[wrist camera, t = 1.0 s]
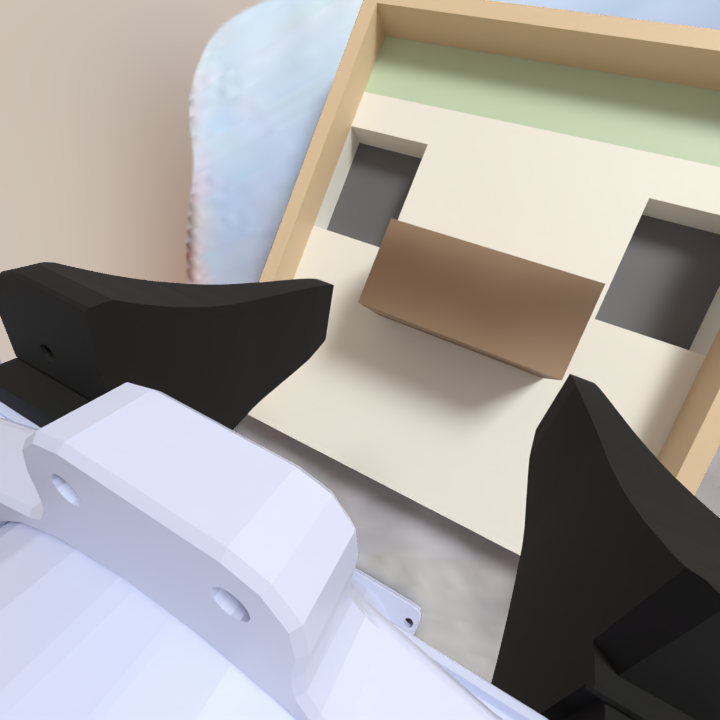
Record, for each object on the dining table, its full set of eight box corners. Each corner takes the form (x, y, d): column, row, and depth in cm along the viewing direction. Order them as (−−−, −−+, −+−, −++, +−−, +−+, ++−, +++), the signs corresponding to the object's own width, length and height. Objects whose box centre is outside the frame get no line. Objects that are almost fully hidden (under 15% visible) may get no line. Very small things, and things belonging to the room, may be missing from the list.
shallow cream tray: (596, 579, 20) (627, 630, 16) (250, 404, 25) (211, 409, 22) (816, 123, 18) (912, 54, 14) (385, 48, 23) (368, -15, 20)
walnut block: (543, 378, 19) (561, 380, 15) (378, 314, 21) (358, 302, 17) (577, 301, 18) (605, 283, 14) (405, 246, 21) (391, 218, 17)
